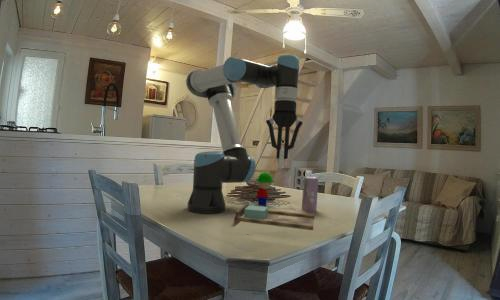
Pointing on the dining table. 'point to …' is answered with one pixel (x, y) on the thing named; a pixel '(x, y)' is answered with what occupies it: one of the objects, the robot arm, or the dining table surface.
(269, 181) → the toy
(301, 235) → the dining table surface
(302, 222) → the brown flat frame
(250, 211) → the block
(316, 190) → the beverage can
